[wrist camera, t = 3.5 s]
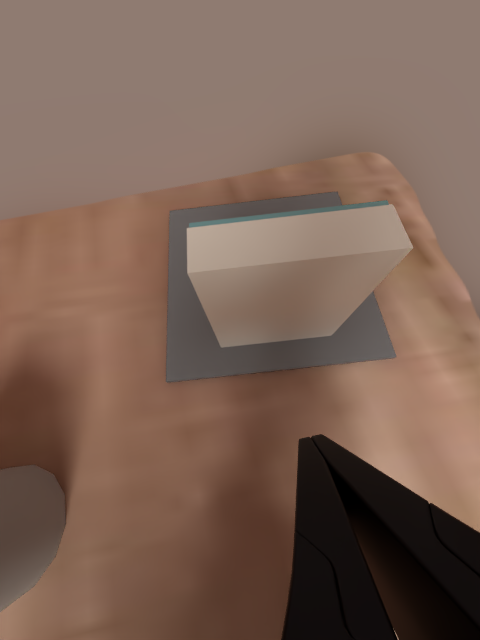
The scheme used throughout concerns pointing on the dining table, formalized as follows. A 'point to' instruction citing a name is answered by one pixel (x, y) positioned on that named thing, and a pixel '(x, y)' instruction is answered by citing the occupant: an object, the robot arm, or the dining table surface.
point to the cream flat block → (292, 269)
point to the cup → (28, 528)
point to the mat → (213, 361)
